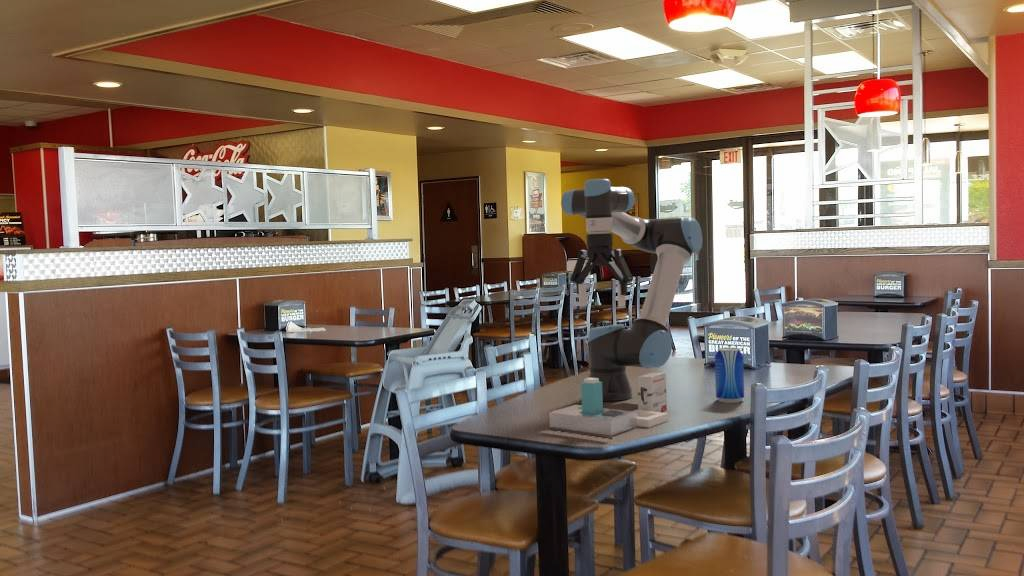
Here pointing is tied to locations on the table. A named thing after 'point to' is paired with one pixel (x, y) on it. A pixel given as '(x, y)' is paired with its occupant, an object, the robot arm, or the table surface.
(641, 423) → the holster
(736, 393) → the beer can
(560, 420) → the port panel
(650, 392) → the ink box
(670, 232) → the robot arm
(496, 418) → the table surface
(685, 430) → the table surface
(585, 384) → the plug
